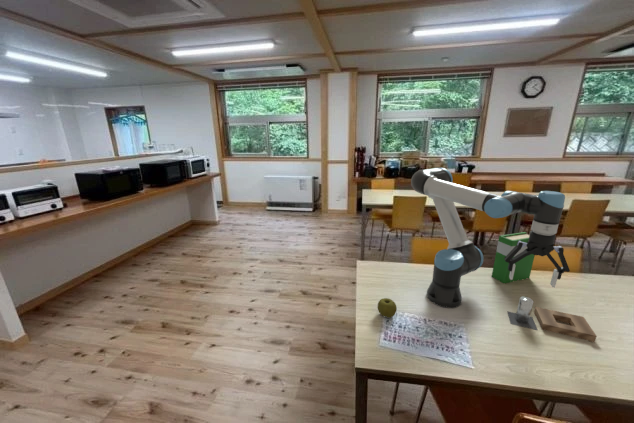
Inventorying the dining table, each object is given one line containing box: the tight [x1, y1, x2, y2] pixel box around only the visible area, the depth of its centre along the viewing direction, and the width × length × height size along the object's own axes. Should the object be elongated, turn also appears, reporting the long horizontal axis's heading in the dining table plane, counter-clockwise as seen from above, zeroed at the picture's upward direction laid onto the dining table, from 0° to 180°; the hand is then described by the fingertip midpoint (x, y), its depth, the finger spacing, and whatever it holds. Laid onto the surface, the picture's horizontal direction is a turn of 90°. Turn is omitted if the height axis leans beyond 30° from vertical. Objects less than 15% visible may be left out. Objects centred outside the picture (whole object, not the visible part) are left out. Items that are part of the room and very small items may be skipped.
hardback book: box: [491, 231, 536, 284], centre depth 144 cm, size 18×7×24 cm, turn 106°
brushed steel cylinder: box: [515, 296, 534, 324], centre depth 112 cm, size 4×4×10 cm
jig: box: [533, 306, 598, 343], centre depth 110 cm, size 16×12×3 cm
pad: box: [506, 310, 539, 331], centre depth 114 cm, size 9×9×1 cm
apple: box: [377, 297, 397, 319], centre depth 117 cm, size 8×8×7 cm
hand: (531, 281), depth 109 cm, fingers open, 13 cm apart
